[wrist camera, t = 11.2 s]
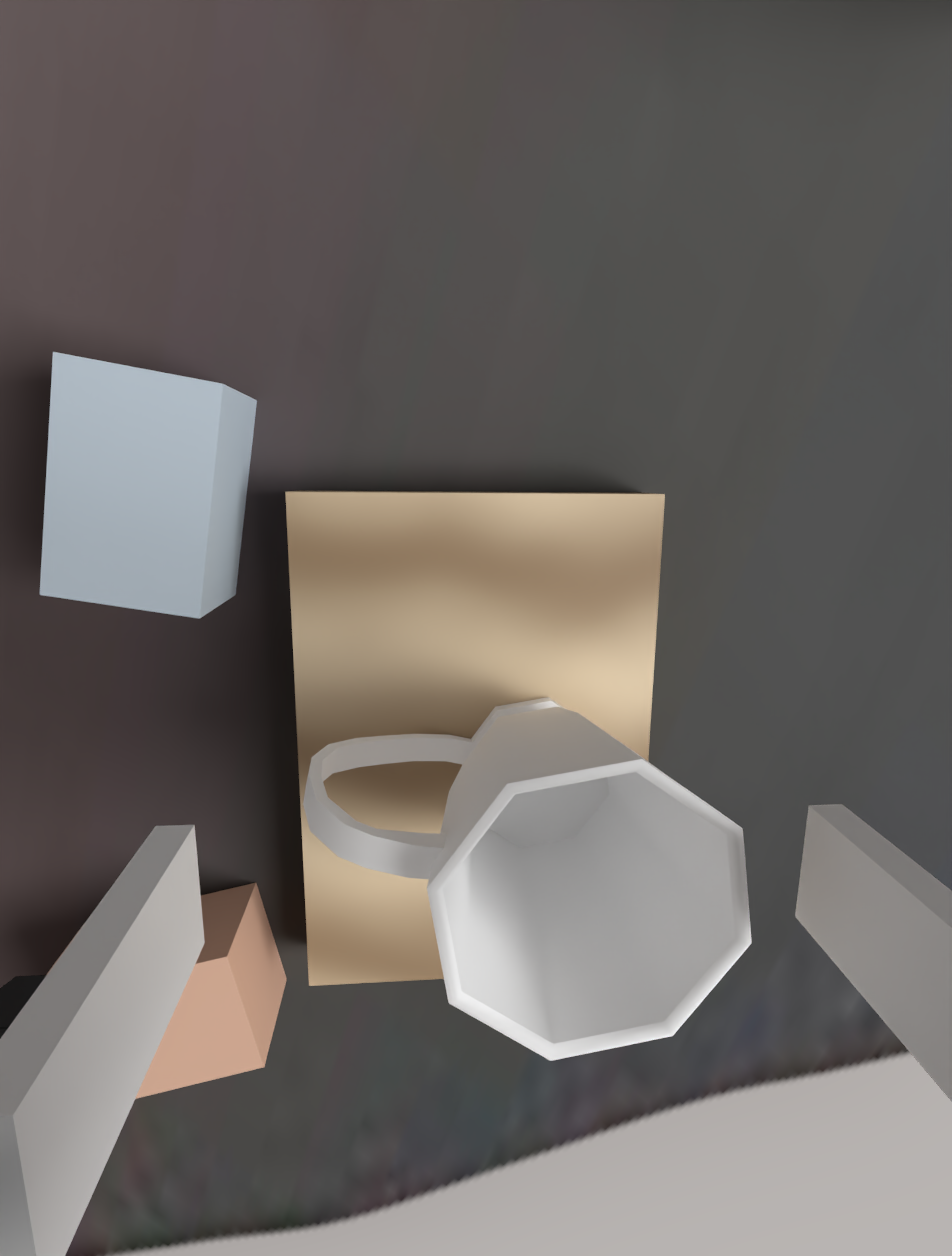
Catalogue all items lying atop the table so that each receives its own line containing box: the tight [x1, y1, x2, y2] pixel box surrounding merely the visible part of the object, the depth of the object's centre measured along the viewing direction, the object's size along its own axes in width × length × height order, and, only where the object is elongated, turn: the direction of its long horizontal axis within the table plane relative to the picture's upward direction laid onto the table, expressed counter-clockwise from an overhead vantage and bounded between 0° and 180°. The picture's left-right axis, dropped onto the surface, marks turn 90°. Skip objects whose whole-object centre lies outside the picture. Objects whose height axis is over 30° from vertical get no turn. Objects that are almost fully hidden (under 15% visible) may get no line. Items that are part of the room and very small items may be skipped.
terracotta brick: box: [46, 883, 287, 1099], centre depth 23 cm, size 6×4×4 cm, turn 102°
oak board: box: [285, 491, 665, 986], centre depth 23 cm, size 16×11×2 cm
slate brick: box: [40, 352, 257, 619], centre depth 20 cm, size 6×4×4 cm, turn 170°
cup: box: [303, 697, 752, 1061], centre depth 18 cm, size 7×10×8 cm
